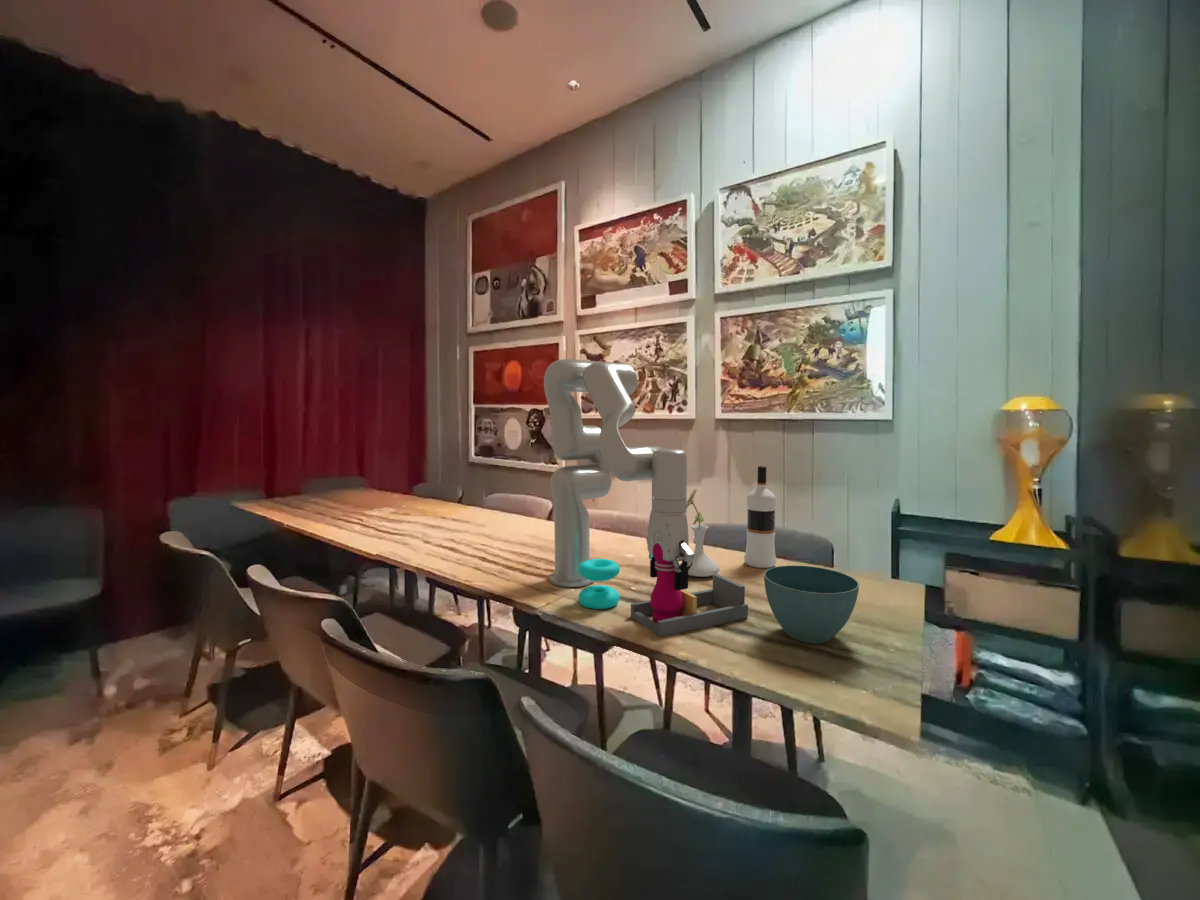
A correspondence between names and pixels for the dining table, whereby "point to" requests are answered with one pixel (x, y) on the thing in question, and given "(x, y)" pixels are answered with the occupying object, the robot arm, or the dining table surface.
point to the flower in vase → (700, 548)
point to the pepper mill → (665, 589)
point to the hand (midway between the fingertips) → (668, 582)
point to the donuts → (598, 594)
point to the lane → (721, 594)
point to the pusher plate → (688, 603)
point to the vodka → (760, 525)
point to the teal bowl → (810, 601)
